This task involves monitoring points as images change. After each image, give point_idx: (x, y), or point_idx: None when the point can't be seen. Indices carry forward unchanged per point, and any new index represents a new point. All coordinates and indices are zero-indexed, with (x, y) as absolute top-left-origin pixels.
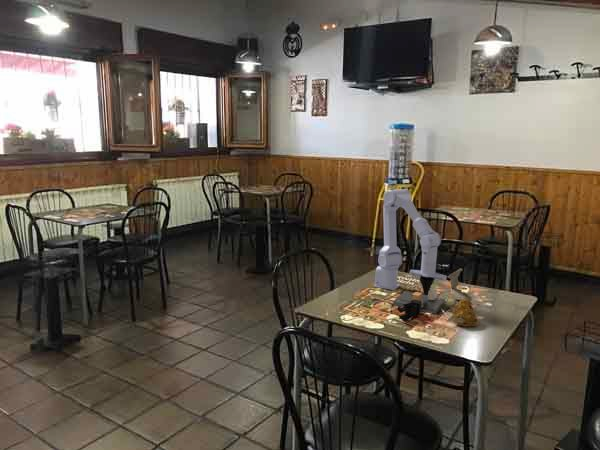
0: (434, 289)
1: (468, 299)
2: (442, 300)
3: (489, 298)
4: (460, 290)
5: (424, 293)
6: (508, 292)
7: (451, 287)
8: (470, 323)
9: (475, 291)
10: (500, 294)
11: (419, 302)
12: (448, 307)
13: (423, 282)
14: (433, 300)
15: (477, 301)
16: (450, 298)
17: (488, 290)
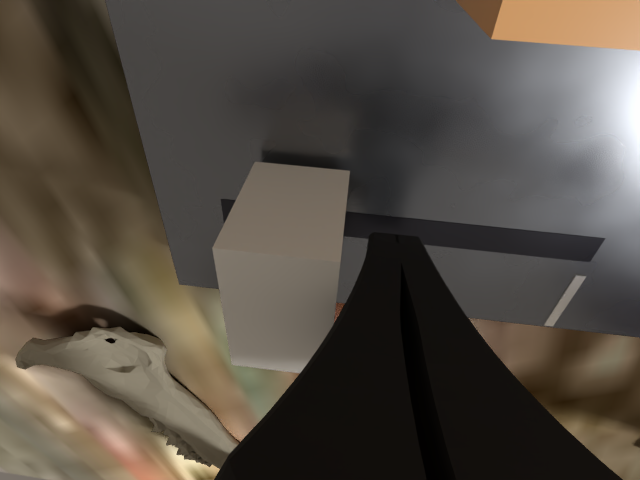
0: (267, 355)
1: (30, 342)
2: (180, 231)
3: (16, 408)
4: (180, 451)
5: (416, 249)
6: (19, 473)
7: None
8: None
9: (137, 460)
10: (23, 454)
11: None
12: (89, 128)
13: (506, 450)
14: None
15: None
16: (199, 350)
17: (98, 476)
